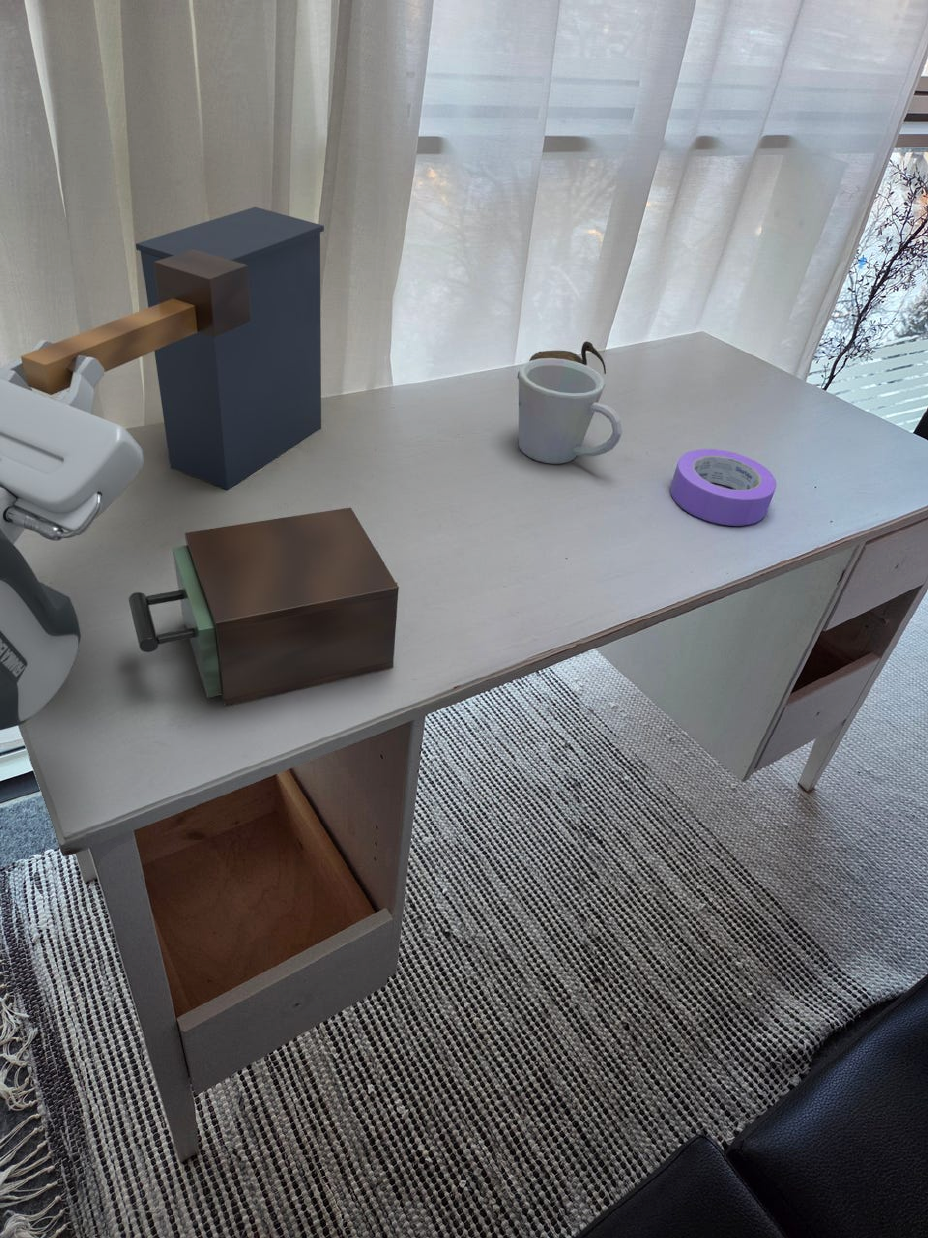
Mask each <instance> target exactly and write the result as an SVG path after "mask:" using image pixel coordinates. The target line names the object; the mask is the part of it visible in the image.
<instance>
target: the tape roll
mask: <svg viewBox="0 0 928 1238" xmlns="http://www.w3.org/2000/svg"><path fill="white" fill-rule="evenodd" d="M716 484H718V485H716ZM720 485H723V486H720ZM724 486H725V487H724ZM726 487H728V488H726ZM776 489H777V480H776V478H775V476H774V474H773V473H772V472H771V471H770V470H769V469H768V468H767V467H765V465H763V464H761V463H760V462H758V461H756V460H754V459H752V458H750V457H748V456H745V455H742V454H739V453H736V452H732V451H728V450H724V449H715V448H714V449H713V448H700V449H694V450H689V451H687V452H685V453H683V454H682V455H681V456H680V457H679V458H678V461H677V463H676V467H675V470H674V474H673V478H672V480H671V483H670V487H669V492H670V496H671V498H672V500H673V501H674V502H675V503H676V504H677V505H678V506H679V507H680V508H681V509H682V510H683V511H685V512H687V513H689V514H690V515H692V516H694V517H696V518H698V519H701V520H704V521H706V522H708V523H713V524H718V525H723V526H728V527H729V526H732V527H744V526H749V525H754V524H756V523H758V522H760V521H762V520H763V519H764V518H765V516H766V515H767V512H768V510H769V507H770V504H771V502H772V499H773V496H774V494H775V492H776Z"/></svg>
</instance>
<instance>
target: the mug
mask: <svg viewBox="0 0 928 1238" xmlns="http://www.w3.org/2000/svg"><path fill="white" fill-rule="evenodd" d="M518 372H519V377H518V446H519V449H520V451H521V452H522V453H523V454H524V455H526V457H528V458H529V459H533V460H535V461H537V462H540V463H545V464H552V465H553V464H554V465H558V464H566V463H569V462H571V461H573V460H574V459H576V457H577V456H578V455H579V456H584V457H596V456H600V455H603V454H607V453H608V452H610V451H612V450H613V449H614V448H615V447H616V445H617V444H618V443H619V441H620V439H621V437H622V434H623V429H622V421H621V418H620V416H619V415H618V413H617V412H616V411H615V410H614V409H613V408H612V407H611V406H608V405H607V404H605V403H600V400H601V397H602V394H603V392H604V390H605V387H606V383H605V379H604V377H603V376H602V375H601V374H600V373H599V372H598V371H597V370H596V369H593V368H592V367H591V366H588V365H583V364H581V363H578V362H574V361H570V360H565V359H557V358H541V359H536V360H531V361H529V360H528V361H527V362H525V363H523V364H522V365H521V366H520V368H519V370H518ZM595 413H599V414H602V415H603V416H605V417H606V418H607V419H608V421H609V422H610V425H611V430H612V432H611V435H610V437H609V438H608V439H607V441H605V442H603V443H602V444H599V445H595V446H582V444H583V442H584V440H585V437H586V434H587V432H588V429H589V426H590V424H591V421H592V419H593V416H594V415H595Z"/></svg>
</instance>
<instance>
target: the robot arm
mask: <svg viewBox="0 0 928 1238" xmlns="http://www.w3.org/2000/svg"><path fill="white" fill-rule="evenodd" d="M51 344H54V343H53V342H51V341H47V340H45V339H40V340H39V341H38V342H37V344H35V346H34V347H33V349H32V350H30V352H33V351H35V350H38V349H41V348H43V347H46V346H49V345H51ZM66 369H67V370H68V371H69V372H70V374H71V375H73V376H72V381H71V385H70V387H69V390H66V389H65V390H62V391H60V392H59V393H58V395H57V396H56V397H55V398H51V397H48V396H46V395H43V394H41V393H38V392H36V391H33V388H31V387H29V386H28V384H27V380H26V376H25V372H24V368H23V364H22V359H21V357H19V358H17V359H14V360H13V361H11V362H9V363H7V364H4V365H3V366H2V367H1V368H0V731H4V730H9V729H12V728H14V727H18V726H21V725H23V724H25V723H26V722H28V721H29V720H30V719H32V717H33V716H34V715H36V714H38V712H40V711H41V710H42V709H43V708H44V707H45V706H46V705H47V704H49V702H50V701H51V700H52V699H53V698H54V696H55V695H56V694H57V692H58V691H59V690H60V688H61V687H62V686H63V684H64V682H65V681H66V679H67V677H68V675H69V674H70V672H71V669H72V668H73V665H74V663H75V661H76V657H77V653H78V650H79V649H78V648H79V644H80V642H81V637H82V635H81V633H82V632H81V628H80V623H79V619H78V614H77V613H76V609H75V607H74V604H73V603H72V600H71V598H70V596H68V595H66V594H64V593H62V592H60V591H58V590H57V589H54V588H52V587H50V586H49V585H47V584H45V583H43V582H41V581H39V580H38V578H37V576H36V575H35V573H34V571H33V569H32V568H31V566H30V564H29V563H28V561H27V560H26V559H25V556H24V555H23V554H22V553H21V551H20V550H19V548H17V546H16V545H15V543H16V542H17V541H18V539H19V538H20V537H21V536H22V534H23V533H24V532H25V530H28V531H32V532H35V533H37V534H39V535H40V536H41V537H43V538H44V539H47V540H50V541H55V542H59V541H60V540H62V539H69V538H73V537H76V536H81V535H83V534H84V533H85V532H86V531H88V530H89V528H90V527H91V525H92V524H93V522H94V521H95V520H96V519H98V518H99V517H100V516H101V515H102V514H103V513H105V511H107V509H109V508H110V506H111V505H112V504H113V503H114V502H115V501H116V500H117V499H118V498H119V496H121V495H122V493H124V491H125V490H126V489H127V488H128V487H129V485H130V484H131V483H132V481H134V479H135V478H137V476H138V474H139V473H140V471H141V470H142V469H143V467H144V462H145V461H144V450H143V448H142V447H141V445H139V443H138V441H137V440H136V439H135V438H134V437H133V435H131V433H130V432H129V431H128V430H127V429H126V428H125V427H123V426H122V425H121V424H118V423H116V422H113V421H110V420H108V419H106V418H103V417H100V416H98V415H95V414H92V413H93V411H94V398H95V388H96V386H97V385H98V384H99V383H100V381H101V380H102V379H103V377H104V376H105V373H106V372H105V370H104V368H103V366H102V365H101V364H100V363H99V361H98V360H97V359H95V358H93V357H90V356H87V355H84V354H81V353H80V354H77V356H76V357H75V360H74V361H72V362H71V363H70V364H69V366H68V367H67V368H66Z"/></svg>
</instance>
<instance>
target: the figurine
mask: <svg viewBox="0 0 928 1238" xmlns="http://www.w3.org/2000/svg"><path fill="white" fill-rule="evenodd" d="M587 352H589V353H591V354H592V355H594V356H596V357H597V358H598V360H600V362H601V363H602V366H603V374H604V375H606V374H607V371H606V369H607V368H606V363H605V361H604V358H603V357H602V355H601V354H600V353H599V351H598V350H597V349H596V348H595V347H594V345H593V343H591V341H588V340H587V341H584V342H583V343H582V345H581V350H580V355H581V356H580V355H578V354H577V353H575V352H572V351H569V350H545V351H538V352H535V353H534V354H532V355H531V356H530V358H529V360H528V362H529V361H531V360H536V359H541V358H557V359H565V360H570V361H574V362H578V363H581V364H583V365H586V366H588V361H587ZM517 378H519V371H518V372H517Z"/></svg>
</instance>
